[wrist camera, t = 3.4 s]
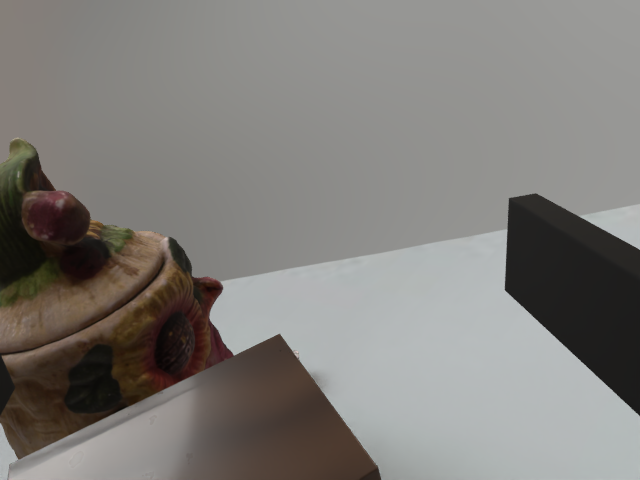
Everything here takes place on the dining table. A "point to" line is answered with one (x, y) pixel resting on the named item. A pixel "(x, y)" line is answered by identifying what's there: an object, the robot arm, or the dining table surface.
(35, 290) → the cookie jar
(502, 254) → the dining table surface
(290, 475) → the walnut rack
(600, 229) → the robot arm
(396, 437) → the dining table surface
